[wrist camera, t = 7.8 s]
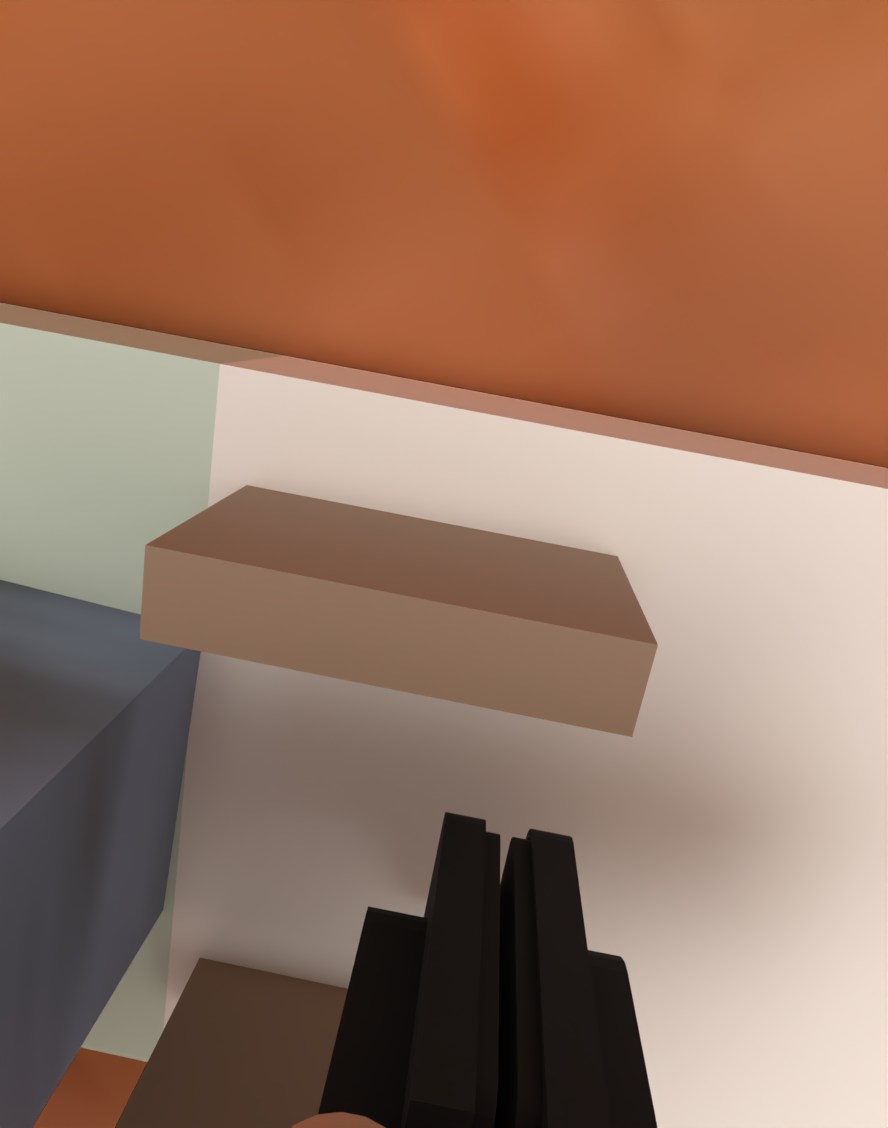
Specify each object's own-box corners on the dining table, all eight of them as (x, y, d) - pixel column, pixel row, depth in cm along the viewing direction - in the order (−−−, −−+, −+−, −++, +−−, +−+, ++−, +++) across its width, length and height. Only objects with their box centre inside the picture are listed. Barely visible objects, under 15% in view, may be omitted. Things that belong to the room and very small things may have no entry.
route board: (-255, 836, 17) (-654, 1101, 11) (-324, 241, 13) (-970, 176, 7) (910, 1080, 16) (1130, 1499, 10) (1175, 521, 12) (1746, 689, 7)
